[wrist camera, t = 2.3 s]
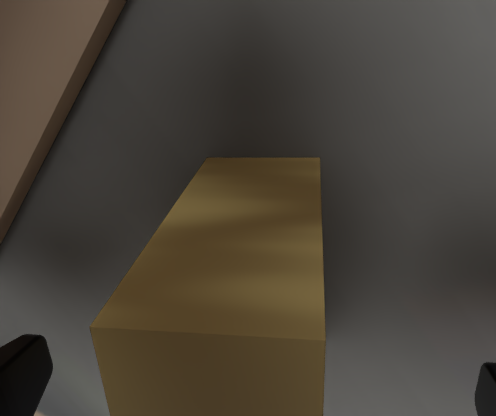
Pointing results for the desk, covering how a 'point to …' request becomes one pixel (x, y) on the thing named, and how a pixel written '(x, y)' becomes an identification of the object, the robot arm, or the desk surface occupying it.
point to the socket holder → (42, 81)
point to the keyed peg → (224, 300)
